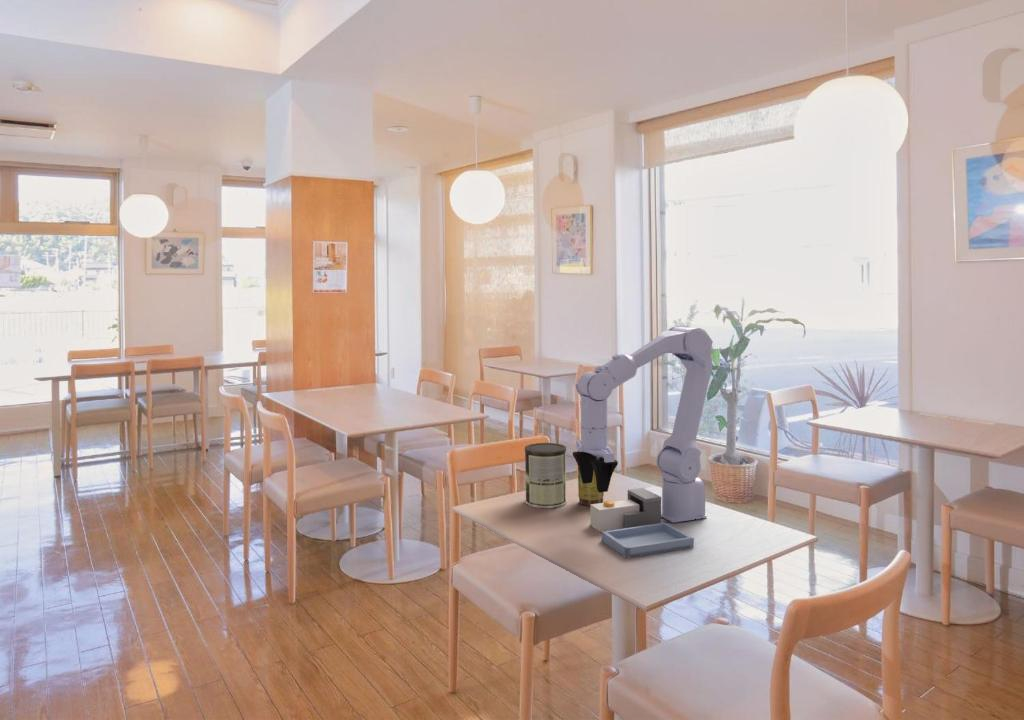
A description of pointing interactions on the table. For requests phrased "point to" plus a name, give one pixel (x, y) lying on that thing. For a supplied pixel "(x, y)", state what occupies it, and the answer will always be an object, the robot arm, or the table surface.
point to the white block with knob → (611, 514)
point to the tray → (647, 539)
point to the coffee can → (545, 475)
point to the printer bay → (643, 508)
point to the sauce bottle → (589, 491)
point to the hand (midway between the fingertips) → (594, 487)
